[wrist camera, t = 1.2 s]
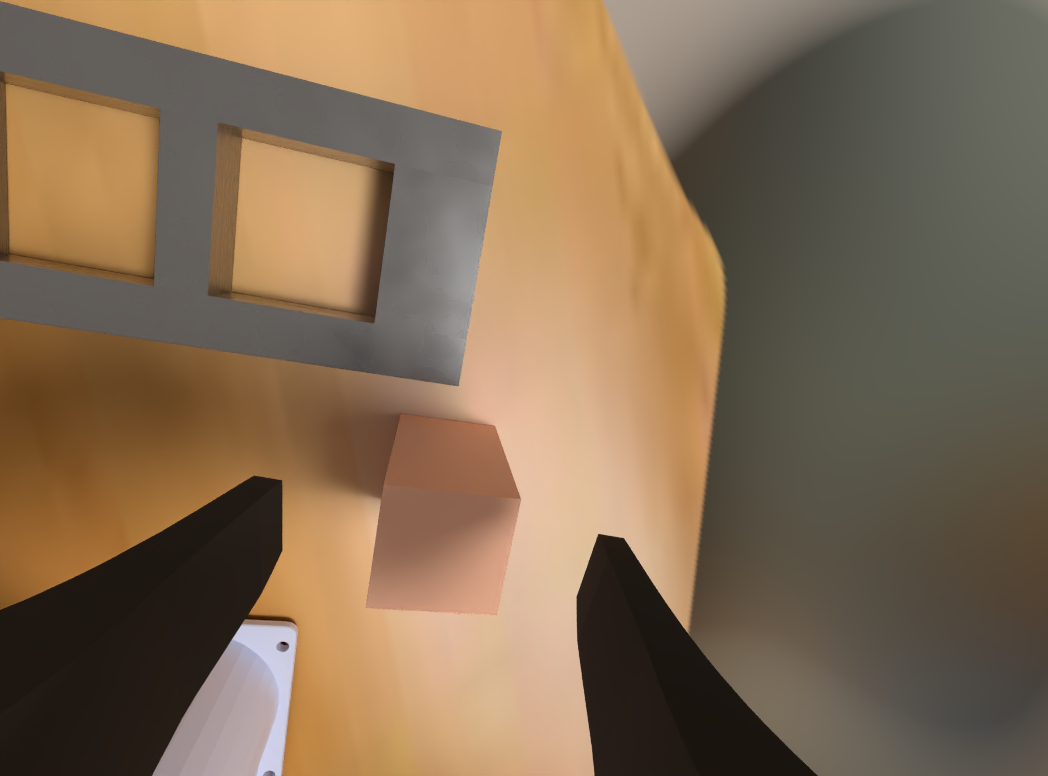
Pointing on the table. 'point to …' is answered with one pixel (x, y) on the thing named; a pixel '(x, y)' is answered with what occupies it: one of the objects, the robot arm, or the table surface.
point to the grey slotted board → (212, 194)
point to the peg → (444, 519)
